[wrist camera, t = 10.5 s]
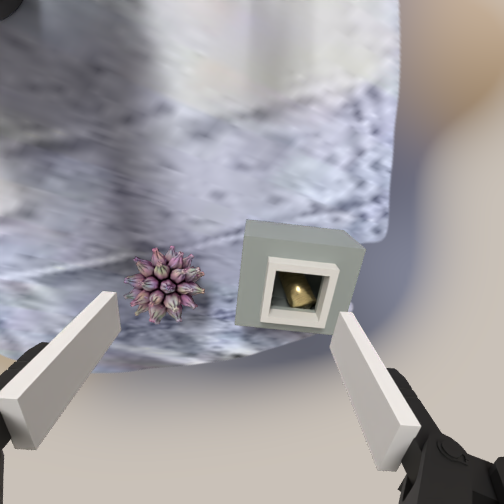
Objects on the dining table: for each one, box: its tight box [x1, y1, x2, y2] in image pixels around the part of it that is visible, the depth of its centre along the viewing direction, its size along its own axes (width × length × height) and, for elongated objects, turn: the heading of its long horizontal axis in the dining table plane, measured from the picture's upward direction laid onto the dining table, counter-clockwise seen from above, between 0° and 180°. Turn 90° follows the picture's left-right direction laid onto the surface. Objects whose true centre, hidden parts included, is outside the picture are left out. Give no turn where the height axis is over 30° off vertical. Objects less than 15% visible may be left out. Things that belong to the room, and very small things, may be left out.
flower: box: [124, 246, 205, 324], centre depth 38 cm, size 12×12×12 cm
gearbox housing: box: [235, 219, 366, 335], centre depth 38 cm, size 16×14×11 cm
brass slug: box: [278, 271, 317, 309], centre depth 40 cm, size 4×4×6 cm
